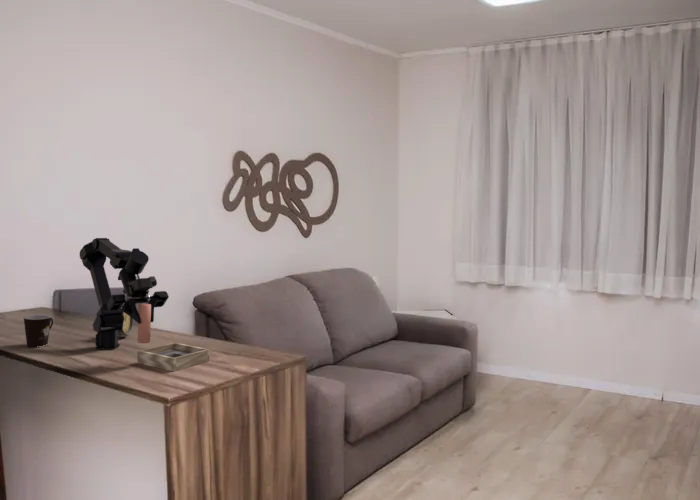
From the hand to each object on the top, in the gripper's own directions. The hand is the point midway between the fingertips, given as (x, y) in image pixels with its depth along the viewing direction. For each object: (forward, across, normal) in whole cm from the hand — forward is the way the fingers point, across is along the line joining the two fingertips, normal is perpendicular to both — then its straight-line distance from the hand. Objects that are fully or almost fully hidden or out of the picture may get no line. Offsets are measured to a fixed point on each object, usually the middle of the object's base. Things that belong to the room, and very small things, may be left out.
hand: (146, 322), depth 198 cm
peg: (+4, 0, +6) cm, 7 cm away
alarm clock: (-18, +10, +40) cm, 45 cm away
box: (+11, +9, +8) cm, 17 cm away
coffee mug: (-21, -17, +42) cm, 50 cm away
